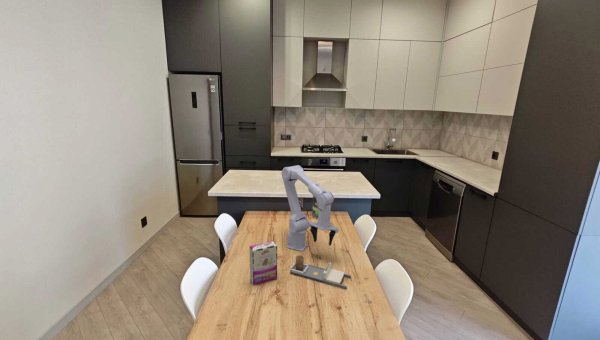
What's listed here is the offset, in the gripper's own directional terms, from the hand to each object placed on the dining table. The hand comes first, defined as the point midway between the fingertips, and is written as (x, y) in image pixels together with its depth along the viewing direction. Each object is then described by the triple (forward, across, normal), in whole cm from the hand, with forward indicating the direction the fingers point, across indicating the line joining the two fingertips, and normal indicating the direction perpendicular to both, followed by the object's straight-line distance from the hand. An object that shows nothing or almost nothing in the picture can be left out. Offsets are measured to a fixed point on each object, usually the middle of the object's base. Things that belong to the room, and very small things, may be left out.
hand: (322, 242), depth 138 cm
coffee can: (+10, -19, +52) cm, 56 cm away
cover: (+8, +10, -13) cm, 18 cm away
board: (+9, +3, -13) cm, 16 cm away
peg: (+8, -6, -14) cm, 17 cm away
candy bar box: (+10, -18, -26) cm, 33 cm away
